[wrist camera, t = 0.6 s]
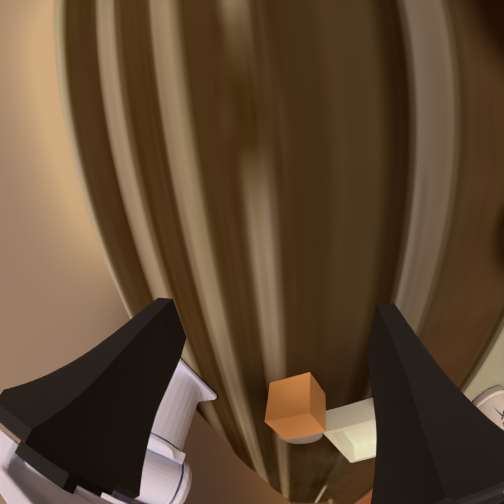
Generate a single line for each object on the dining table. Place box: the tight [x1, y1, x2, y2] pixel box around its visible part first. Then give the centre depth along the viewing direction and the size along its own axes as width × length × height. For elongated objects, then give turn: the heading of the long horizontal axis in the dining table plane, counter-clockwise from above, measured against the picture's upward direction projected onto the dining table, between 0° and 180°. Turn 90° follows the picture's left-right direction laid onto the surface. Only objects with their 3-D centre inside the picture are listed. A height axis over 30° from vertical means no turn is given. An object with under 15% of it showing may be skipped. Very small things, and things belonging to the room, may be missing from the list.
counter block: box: [265, 372, 326, 440], centre depth 26 cm, size 4×4×5 cm
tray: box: [324, 397, 376, 463], centre depth 28 cm, size 13×13×3 cm
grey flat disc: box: [278, 433, 323, 444], centre depth 33 cm, size 6×6×1 cm
